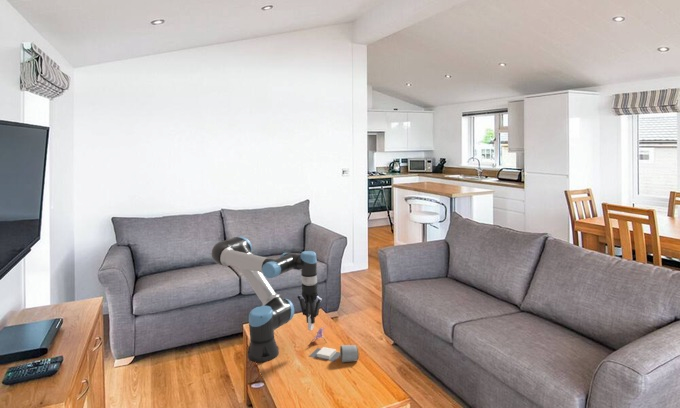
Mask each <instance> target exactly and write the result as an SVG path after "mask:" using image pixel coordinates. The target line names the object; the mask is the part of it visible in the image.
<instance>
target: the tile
mask: <svg viewBox="0 0 680 408" xmlns="http://www.w3.org/2000/svg"><path fill="white" fill-rule="evenodd" d="M320 349H321V350H320V351H319V352H318V353H317V357H320V358H325V359H329V360H330V359H331V358H332V357H333V356H334V355H335V353H336V352H337V349H335V348H331V347H326V346H322V348H320Z"/></svg>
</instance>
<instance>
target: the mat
mask: <svg viewBox="0 0 680 408" xmlns="http://www.w3.org/2000/svg"><path fill="white" fill-rule="evenodd" d="M321 349H322V348H319V347H318V348H316V349H315V350H314V351H312V353H310V354H309V355H308V357H309V358H310V357H311V358H314V359H320V360H324V361H329V362H334V363H335V362H336V361H337V360H338V359H339V358H340V357H341V356H340V351H336V353H335V355H334V356H333V357H332V358H331V359H330V360H329V359H325V358H320V357H317V353H318V352H319V351H320V350H321Z"/></svg>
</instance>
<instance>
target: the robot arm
mask: <svg viewBox="0 0 680 408" xmlns="http://www.w3.org/2000/svg"><path fill="white" fill-rule="evenodd" d="M210 254H211V259H212V260H213V261H214V263H216V264H217V265H220V266H222V267H223V266H224V267H229V266H231V267H232V266H233V267H236V268H238V269H239V270H240V272H241V273H242V275H243V277H244V278H245V279H246V281H247V283H248V284H249V285H250V287H251V288H252V290H253V291H254V293H255V295H256V296H257V297H258V299H259V300H260V302H261V303H262V305H261V306H257V307H254V308H253V309H251V310H250V312H249V314H248V326H249V327H248V328H249V340H250V342H249V345H248V350H247V358H248V360H249V361H251V362H252V363H260V364H261V363H266V362H270V361H273V360H274V359H276V358H277V357H278V356H279V353H280V351H279V349H280V348H279V347H278V345H277V342H276V338H275V330H277V329H279V328H280V327H282V326H283V325H286V324H288V323H289V322H290V321H291V320H293V317H294V316H295V306H294V304H293V302H292V301H291V300H290V299H287V298H284V297H283V296H282V295H281V294H278V293H277V292H276V291H275V289H274V288H273V287H272V285H271V284H270V282H269V281H268V279H273V278H277V277H279V276H280V275H283V274H286V273H287V272H290V271H292V270H296V271H300V273H301V276H300V277H301V294H299V295H297V299H298V301H299V304H300V309H301V313H302V316H305V317H306V318H305V319H306V324H307V330H308V331H312V330H313V329H314V326H315V325H314V324H315V321H316V320H315V319H316V317H318V316H319V312H320V308H321V303H322V301H323V297H320V296H319V294H318V272H317V270H318V267H317V263H318V260H317V253H316V252H315V251H314V250H305V251H302V252H301V253H300V254H297V253H293V252H283V253H282V254H281V255H280V256H279V257H278V258H269V257H266V256H261V255H256V254H253V245H252V242H251V241H250V240H249V239H248V238H246V237H245V236H235V237H232V238H229V239H226V240H221V241H219V242H217V243H216V244H215V245H214V246H213V247H212V249H211V253H210Z"/></svg>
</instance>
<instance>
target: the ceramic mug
mask: <svg viewBox="0 0 680 408" xmlns="http://www.w3.org/2000/svg"><path fill="white" fill-rule="evenodd" d="M339 352H340V356H339V357H340V360H341V363H350V362H357V361H359V357H360V353H359V347H358V345H355V344H348V345H347V344H344V345H343V344H340V347H339Z"/></svg>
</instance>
